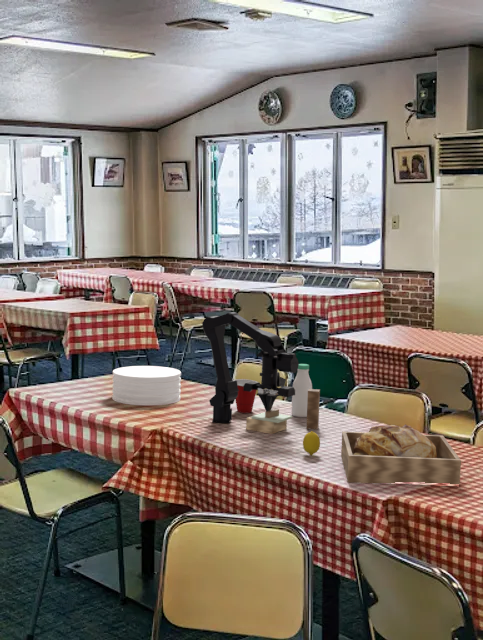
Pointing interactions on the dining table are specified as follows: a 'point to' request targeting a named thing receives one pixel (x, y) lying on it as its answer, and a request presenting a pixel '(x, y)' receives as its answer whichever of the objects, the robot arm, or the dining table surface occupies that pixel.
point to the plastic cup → (244, 397)
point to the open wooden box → (265, 425)
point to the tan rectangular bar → (313, 409)
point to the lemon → (311, 443)
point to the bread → (394, 443)
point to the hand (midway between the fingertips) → (268, 412)
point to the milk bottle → (301, 391)
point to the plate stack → (146, 385)
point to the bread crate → (400, 464)
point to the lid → (272, 416)
